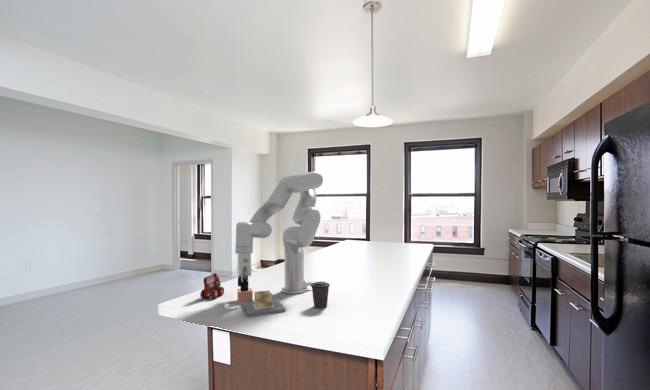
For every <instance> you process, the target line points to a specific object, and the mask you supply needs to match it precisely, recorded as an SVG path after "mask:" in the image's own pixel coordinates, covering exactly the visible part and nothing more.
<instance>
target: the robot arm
mask: <svg viewBox="0 0 650 390" xmlns="http://www.w3.org/2000/svg"><path fill="white" fill-rule="evenodd" d="M277 183H278V184H277V185H276V186H275V188H274V190H273V191H272V193H271V195H270V196H269V198H268V199H267V200H266V201H265V202H264V203H263V204H262V205H261V206H260V207H259V208H258V209H257V210H256V211H255V213H254V214H253V216H252V217H251V218H250V220H249V221H241V222H240V221H239V222H237V223H236V226H235V227H236V228H235V250H234V251H235V252H234V253H235V254H236V255H237V263H236V264H237V266H236V267H237V269H236V271H237V274H238V277H237V287H240V289H241V290H240V291H241V292H244V291H248V288H249V277H251V276H252V255H251V254H253V252H254V251H253V248H254V238H258V239H266V238H268V237H270V236H271V234H272V231H273V229H272V226H271V225H270V223H268V221H269V219H270V218H272V217H273V216H275V215H277V213H281V212H282V211H283V210H284V209H285V207H286V205H287V203H288V202H289V200H290V199H291V197H292V195H293V194H298V193H300V197H299V199H298V202H297V205H296V208H295V210H294V212H293V215H292V221H293V223H295V225H296V226H289V227H287V228H285V230H284V231H283V234H282V244H283V249H284V286H283V287H281V292H282V293H285V294H290V295H293V294H294V295H296V294H303V293H307V291H308V286H310V287H311V284H312V283H314V281H313V280H312V281H309V280H308V281H306V280H305V254H304V249H303V248H308V247H309V246H311V244H312V243H313V241H314V239H315V237H316V234H317V231H318V228H319V226H320V224H321V223H320V222H321V213H320V210H318V208H316V207H315V206H316V203H317V195H316V189H319V188H320V187H321V186H322V184H323V183H324V176H323V175H322V174H321V173H320V172H319V171H315V170H314V171H308V172H302V173H300V174H294V175H287V176H284V177H282V178H281V179H280V180H279V182H277ZM297 225H298V226H297Z"/></svg>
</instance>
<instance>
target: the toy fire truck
mask: <svg viewBox="0 0 650 390" xmlns="http://www.w3.org/2000/svg"><path fill="white" fill-rule="evenodd" d="M221 285H222V283H221V281H220V277H219V276H218V275H217V273H216V272H214V273H212V274H211V275H207V276H205V277H204V278H203V288H204V289H202V290H201V291H200V298H201V299H207V298H209V297H210V298H211V299H212V300H217V299H218V297H222V296H224V293H225V288H224V287H223V286H221Z"/></svg>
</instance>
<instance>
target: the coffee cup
mask: <svg viewBox="0 0 650 390" xmlns="http://www.w3.org/2000/svg"><path fill="white" fill-rule="evenodd" d="M330 286H331V285H330V283H329V282H325V281H316V282H313V283H312V284H311V286H310V287H311V291H312V299H313V301H312V302H313V307H314V308H315V309H319V310H323V308H324V309H326V308H327V307H328V298H329V289H330Z"/></svg>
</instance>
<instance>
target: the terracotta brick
mask: <svg viewBox="0 0 650 390" xmlns="http://www.w3.org/2000/svg"><path fill="white" fill-rule="evenodd" d="M240 290H241V288H238V289H237V303H238V305H239V304H241V305H242V303H243V302H251V301H254V300H253V299H254V298H253V293H254V292H253V289H252V287H248V291H244V292H241V291H240Z"/></svg>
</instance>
